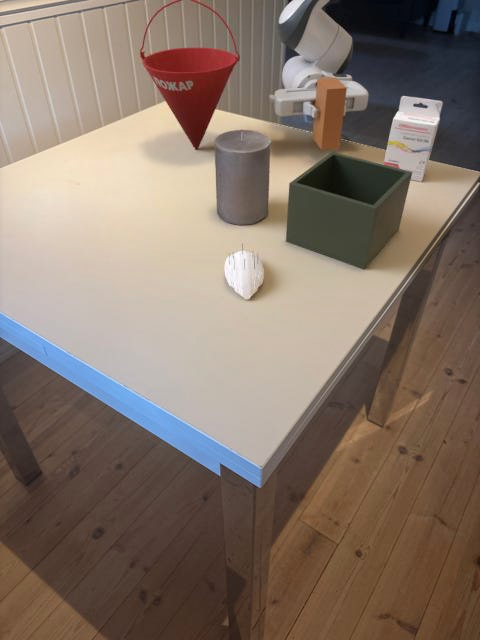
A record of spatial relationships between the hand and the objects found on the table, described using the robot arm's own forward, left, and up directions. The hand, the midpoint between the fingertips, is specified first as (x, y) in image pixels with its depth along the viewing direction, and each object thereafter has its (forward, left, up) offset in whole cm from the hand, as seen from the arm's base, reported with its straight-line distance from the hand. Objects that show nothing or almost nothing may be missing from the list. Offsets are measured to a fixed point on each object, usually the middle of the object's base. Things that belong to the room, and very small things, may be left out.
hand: (330, 113), depth 100 cm
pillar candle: (+21, +18, -11) cm, 30 cm away
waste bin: (+5, +29, -11) cm, 31 cm away
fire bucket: (+27, -13, -11) cm, 32 cm away
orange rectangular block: (0, -1, -7) cm, 7 cm away
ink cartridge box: (-15, +8, -11) cm, 20 cm away
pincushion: (+24, +38, -11) cm, 46 cm away
